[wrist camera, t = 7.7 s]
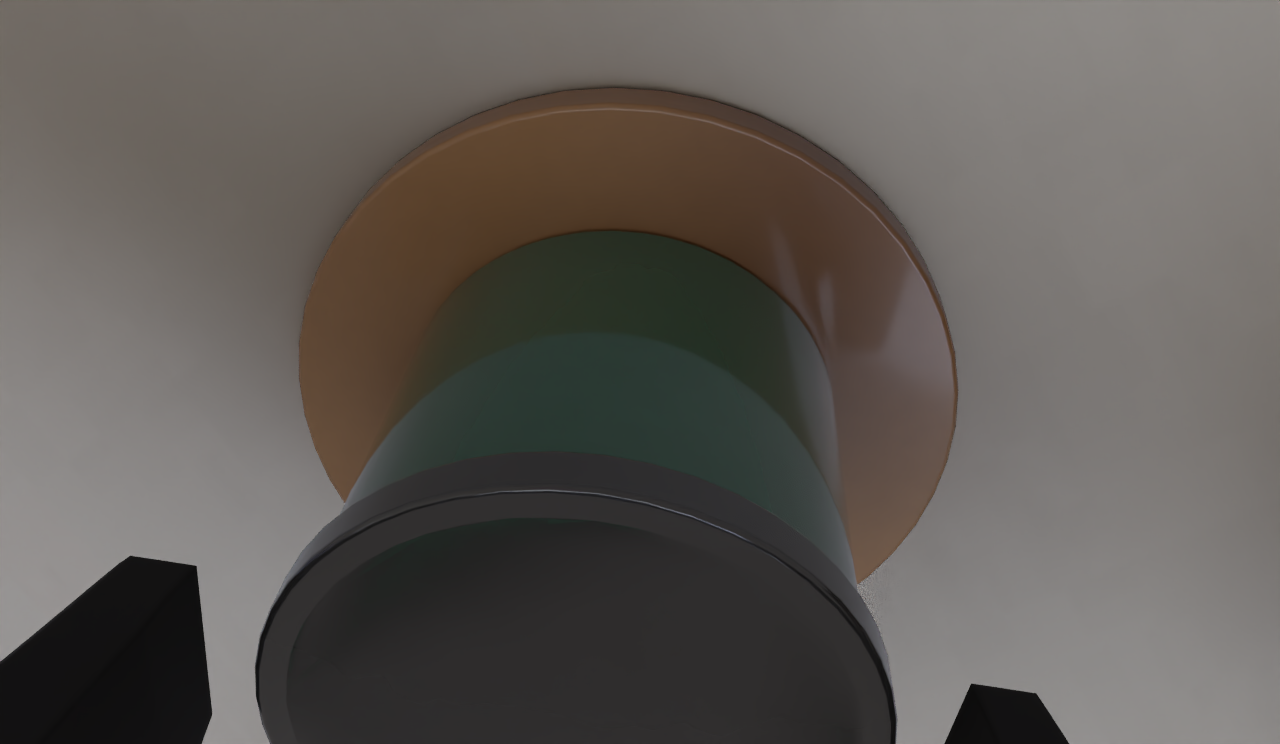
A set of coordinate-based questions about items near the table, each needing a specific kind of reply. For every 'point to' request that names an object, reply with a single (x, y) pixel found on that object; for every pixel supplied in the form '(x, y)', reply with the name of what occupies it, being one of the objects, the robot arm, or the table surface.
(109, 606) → the robot arm
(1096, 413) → the table surface
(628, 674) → the pot
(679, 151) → the coaster
